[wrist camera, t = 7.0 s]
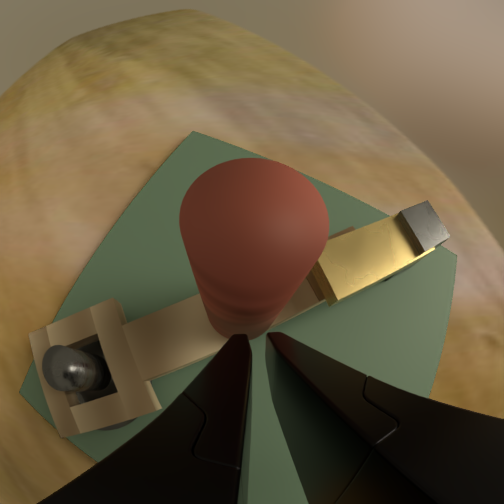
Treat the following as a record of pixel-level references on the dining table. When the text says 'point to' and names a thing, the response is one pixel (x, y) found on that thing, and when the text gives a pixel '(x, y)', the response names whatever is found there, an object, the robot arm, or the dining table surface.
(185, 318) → the latch bar
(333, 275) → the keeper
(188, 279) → the latch board
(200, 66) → the dining table surface
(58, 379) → the pintle
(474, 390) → the dining table surface
